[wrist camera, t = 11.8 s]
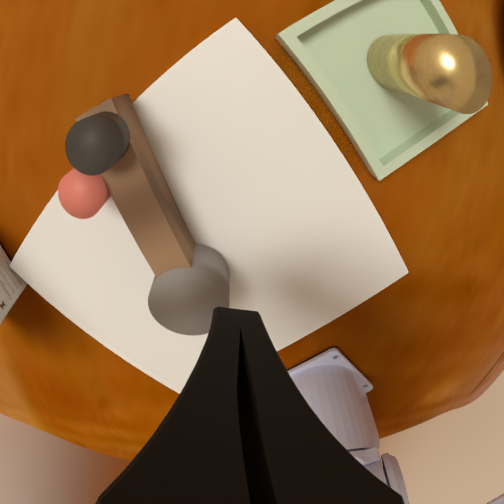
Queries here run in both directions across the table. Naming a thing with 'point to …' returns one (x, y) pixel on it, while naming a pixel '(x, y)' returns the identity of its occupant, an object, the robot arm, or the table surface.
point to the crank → (150, 216)
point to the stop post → (82, 194)
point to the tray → (370, 76)
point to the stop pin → (433, 69)
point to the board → (223, 214)
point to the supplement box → (8, 285)
